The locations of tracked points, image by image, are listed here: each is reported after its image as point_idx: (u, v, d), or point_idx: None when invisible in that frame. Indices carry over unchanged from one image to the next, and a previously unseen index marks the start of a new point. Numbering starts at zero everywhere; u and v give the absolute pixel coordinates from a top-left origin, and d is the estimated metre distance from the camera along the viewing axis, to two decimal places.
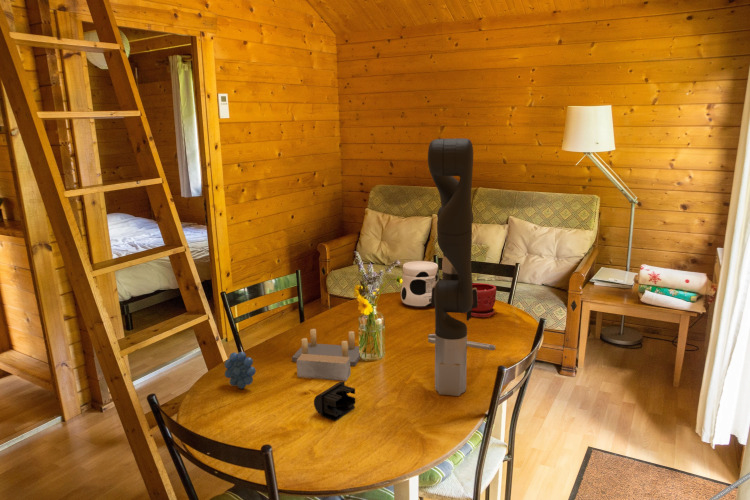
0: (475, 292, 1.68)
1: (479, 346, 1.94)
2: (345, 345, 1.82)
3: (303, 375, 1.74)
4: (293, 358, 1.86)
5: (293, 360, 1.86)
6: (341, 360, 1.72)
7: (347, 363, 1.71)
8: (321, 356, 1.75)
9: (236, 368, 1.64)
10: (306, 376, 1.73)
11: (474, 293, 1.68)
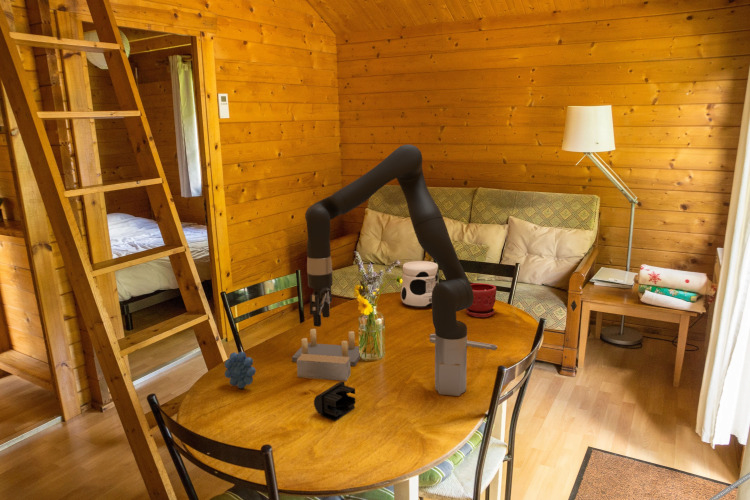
0: (330, 286, 1.75)
1: (481, 346, 1.94)
2: (345, 345, 1.82)
3: (303, 375, 1.74)
4: (293, 358, 1.86)
5: (293, 360, 1.86)
6: (341, 360, 1.72)
7: (347, 363, 1.71)
8: (321, 356, 1.75)
9: (236, 368, 1.64)
10: (306, 376, 1.73)
11: (330, 287, 1.75)
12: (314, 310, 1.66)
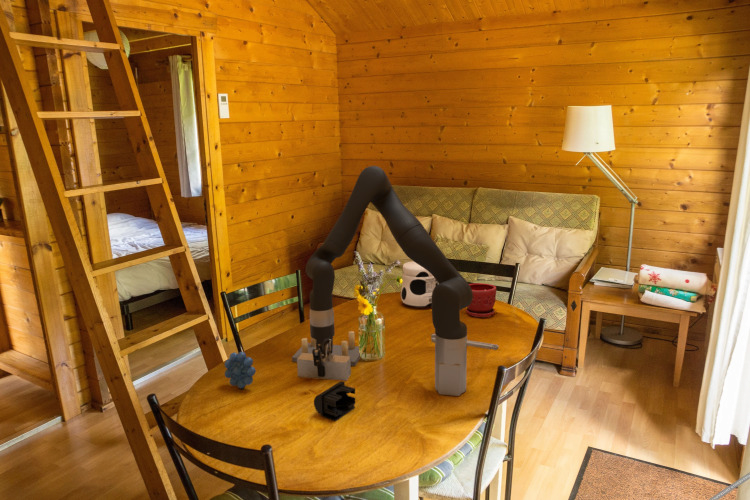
0: (332, 337, 1.78)
1: (482, 346, 1.94)
2: (345, 345, 1.82)
3: (303, 374, 1.74)
4: (293, 358, 1.86)
5: (293, 360, 1.86)
6: (341, 359, 1.72)
7: (347, 362, 1.71)
8: None
9: (236, 368, 1.64)
10: (306, 375, 1.74)
11: (332, 338, 1.78)
12: (318, 361, 1.71)
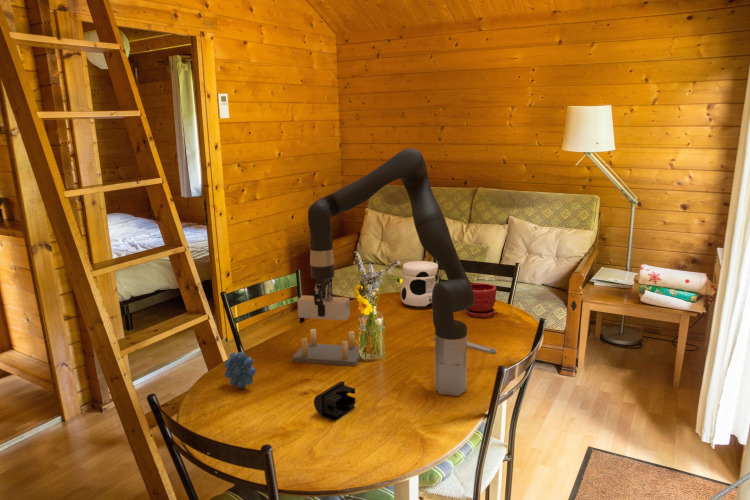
0: None
1: (480, 349, 1.91)
2: (345, 345, 1.82)
3: (304, 315, 1.79)
4: (293, 358, 1.86)
5: (293, 360, 1.86)
6: (340, 299, 1.77)
7: (347, 302, 1.77)
8: None
9: (236, 368, 1.64)
10: (307, 316, 1.79)
11: (331, 281, 1.83)
12: (318, 301, 1.76)
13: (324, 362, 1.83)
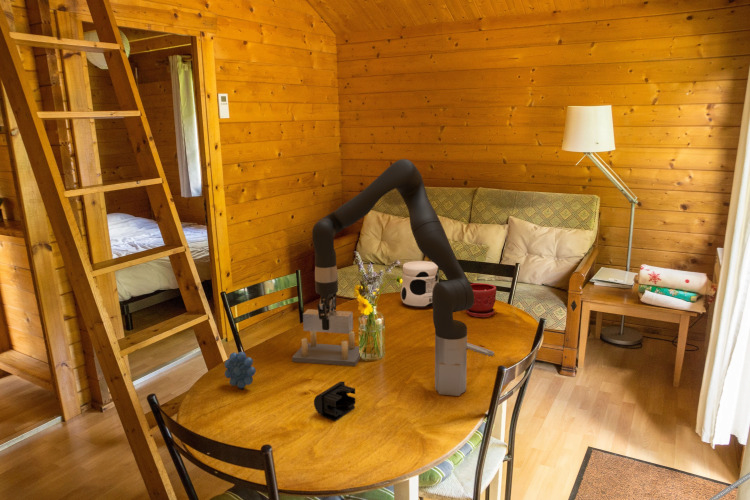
0: None
1: (478, 350, 1.90)
2: (345, 345, 1.82)
3: (309, 328, 1.87)
4: (293, 358, 1.86)
5: (293, 360, 1.86)
6: (344, 314, 1.85)
7: (350, 316, 1.84)
8: None
9: (236, 368, 1.64)
10: (312, 329, 1.86)
11: (335, 296, 1.91)
12: (322, 315, 1.84)
13: (324, 362, 1.83)
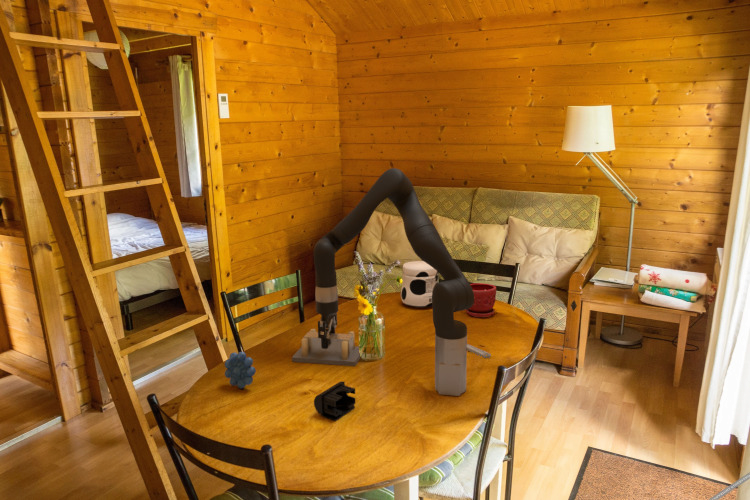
0: (336, 311, 1.93)
1: (475, 352, 1.89)
2: (345, 345, 1.82)
3: (310, 351, 1.88)
4: (293, 358, 1.86)
5: (293, 360, 1.86)
6: (344, 337, 1.86)
7: (350, 339, 1.86)
8: None
9: (236, 368, 1.64)
10: (312, 352, 1.88)
11: (336, 312, 1.92)
12: (322, 334, 1.84)
13: (324, 362, 1.83)
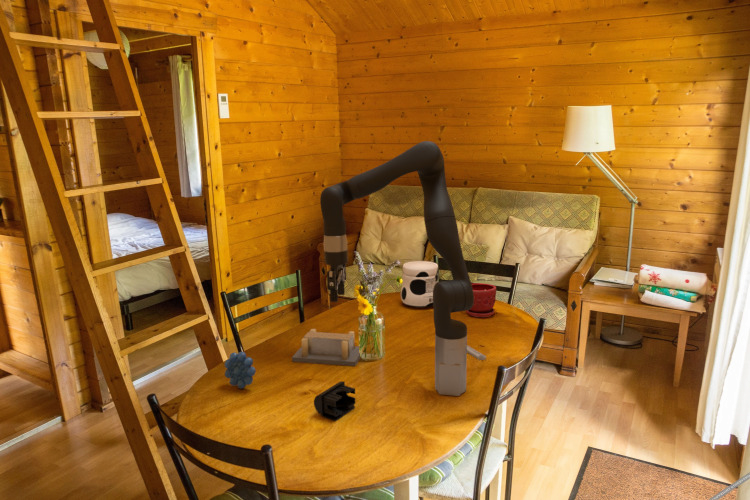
0: (345, 265, 1.83)
1: (472, 353, 1.88)
2: (345, 345, 1.82)
3: (310, 351, 1.88)
4: (293, 358, 1.86)
5: (293, 360, 1.86)
6: (344, 337, 1.86)
7: (350, 339, 1.86)
8: (326, 333, 1.90)
9: (236, 368, 1.64)
10: (312, 352, 1.88)
11: (345, 266, 1.83)
12: (331, 286, 1.74)
13: (324, 362, 1.83)
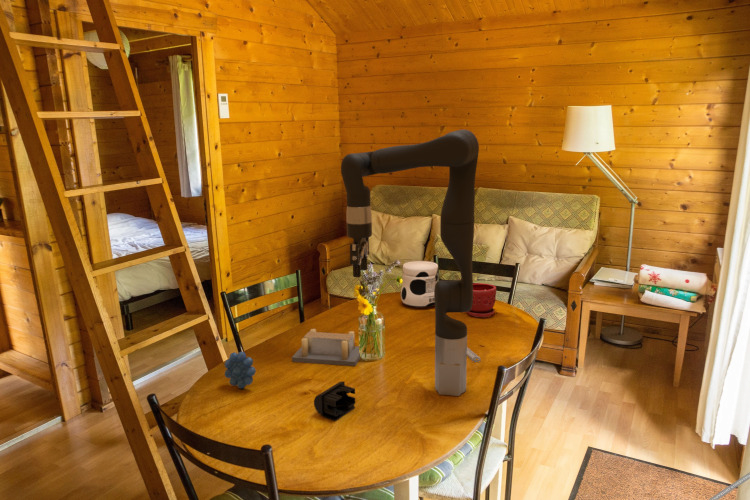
0: (368, 238, 1.72)
1: (467, 355, 1.87)
2: (345, 345, 1.82)
3: (310, 351, 1.88)
4: (293, 358, 1.86)
5: (293, 360, 1.86)
6: (344, 337, 1.86)
7: (350, 339, 1.86)
8: (326, 333, 1.90)
9: (236, 368, 1.64)
10: (312, 352, 1.88)
11: (368, 240, 1.72)
12: None
13: (324, 362, 1.83)
